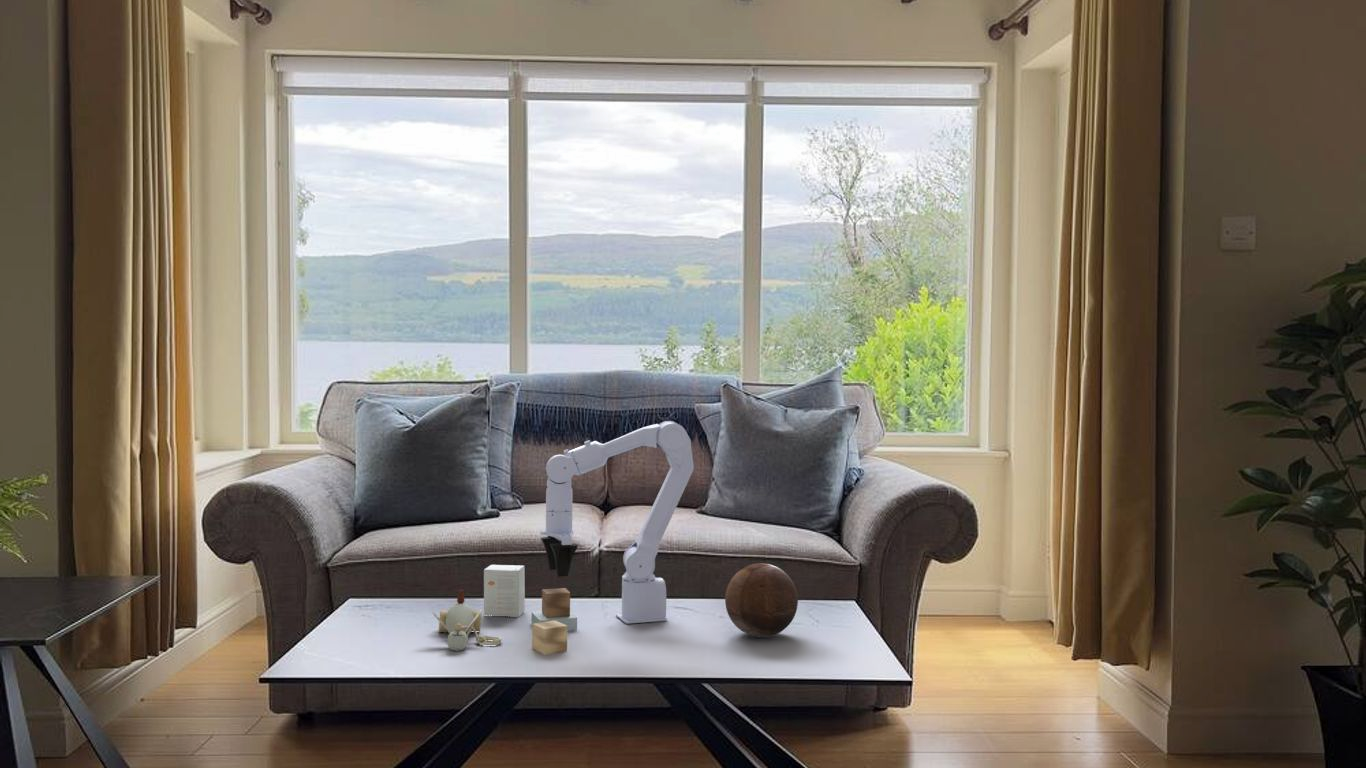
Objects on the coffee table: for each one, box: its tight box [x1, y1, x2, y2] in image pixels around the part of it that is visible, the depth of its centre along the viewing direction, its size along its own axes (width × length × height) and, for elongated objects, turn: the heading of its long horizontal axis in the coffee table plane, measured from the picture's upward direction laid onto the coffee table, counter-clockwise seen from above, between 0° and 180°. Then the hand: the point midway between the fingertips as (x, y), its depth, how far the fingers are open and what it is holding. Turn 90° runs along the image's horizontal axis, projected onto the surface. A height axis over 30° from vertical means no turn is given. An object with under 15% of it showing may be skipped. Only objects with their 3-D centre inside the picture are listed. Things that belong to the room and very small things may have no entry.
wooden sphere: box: [724, 562, 799, 638], centre depth 219 cm, size 15×15×15 cm
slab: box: [531, 610, 578, 632], centre depth 224 cm, size 8×8×3 cm
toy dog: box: [432, 589, 503, 652], centre depth 214 cm, size 12×19×9 cm, turn 31°
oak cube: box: [531, 620, 568, 656], centre depth 207 cm, size 5×5×5 cm
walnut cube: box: [541, 587, 571, 618], centre depth 225 cm, size 5×5×5 cm
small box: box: [483, 564, 526, 618], centre depth 235 cm, size 8×6×10 cm
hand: (558, 572), depth 230 cm, fingers open, 7 cm apart
